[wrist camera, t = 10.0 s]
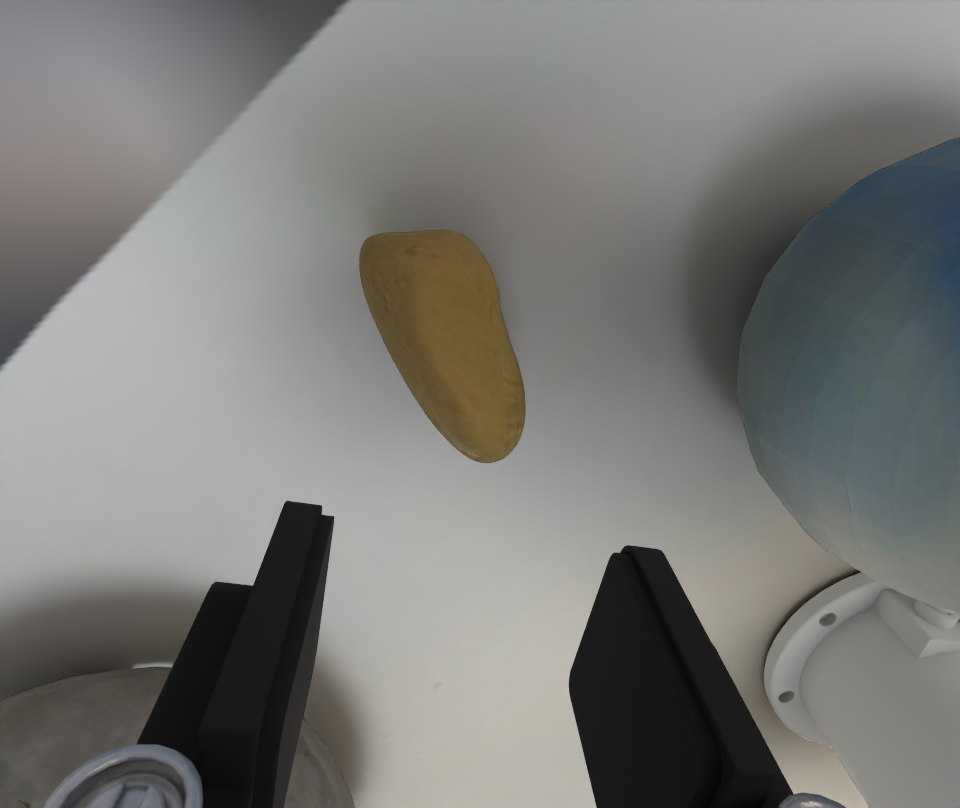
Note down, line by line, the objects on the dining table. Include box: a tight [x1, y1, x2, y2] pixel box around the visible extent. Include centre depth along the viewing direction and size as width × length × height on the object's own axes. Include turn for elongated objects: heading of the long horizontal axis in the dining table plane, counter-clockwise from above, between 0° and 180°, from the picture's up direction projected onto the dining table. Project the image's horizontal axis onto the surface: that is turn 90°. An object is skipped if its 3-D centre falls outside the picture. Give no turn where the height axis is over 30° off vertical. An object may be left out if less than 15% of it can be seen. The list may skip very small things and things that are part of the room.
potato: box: [359, 230, 525, 463], centre depth 22 cm, size 7×8×8 cm
